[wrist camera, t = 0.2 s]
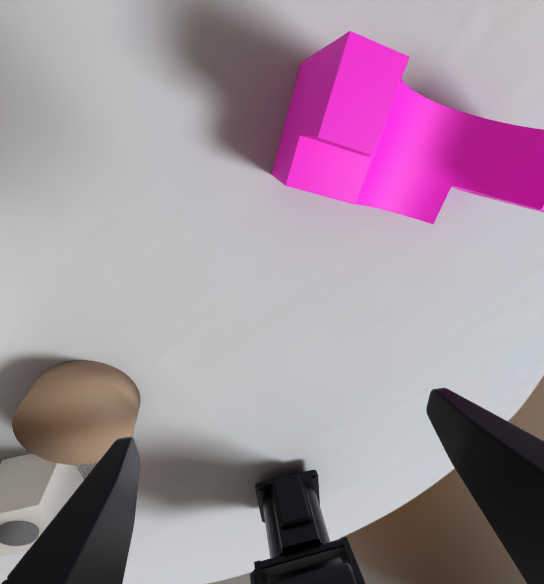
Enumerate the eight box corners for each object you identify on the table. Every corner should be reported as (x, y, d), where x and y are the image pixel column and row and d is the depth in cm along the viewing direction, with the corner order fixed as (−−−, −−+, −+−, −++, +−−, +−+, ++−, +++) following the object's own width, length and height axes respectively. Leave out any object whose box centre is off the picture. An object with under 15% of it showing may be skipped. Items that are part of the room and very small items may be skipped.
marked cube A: (85, 481, 31) (64, 544, 26) (29, 493, 30) (-3, 560, 26) (64, 446, 28) (37, 508, 24) (2, 458, 28) (-38, 525, 23)
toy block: (271, 174, 21) (299, 196, 15) (300, 63, 19) (350, 30, 12) (454, 225, 26) (540, 260, 19) (498, 139, 23) (614, 146, 16)
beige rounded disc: (152, 422, 29) (146, 451, 26) (56, 442, 28) (41, 474, 26) (123, 349, 25) (114, 376, 23) (13, 370, 24) (-11, 399, 22)
